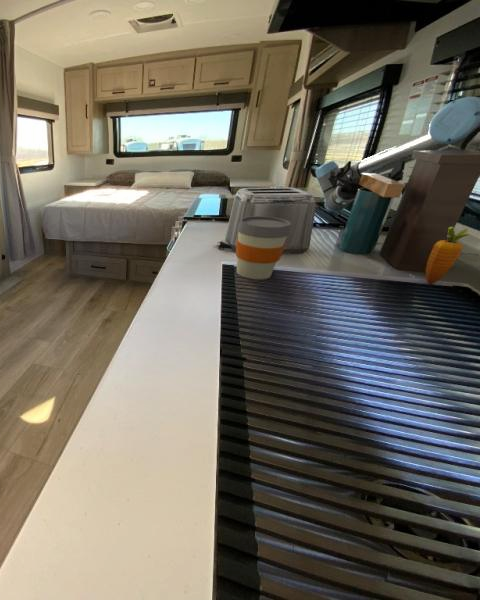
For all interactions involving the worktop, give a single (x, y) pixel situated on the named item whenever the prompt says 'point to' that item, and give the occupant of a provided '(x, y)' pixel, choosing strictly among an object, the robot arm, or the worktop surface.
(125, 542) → the worktop surface
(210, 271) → the worktop surface
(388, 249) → the walnut stand
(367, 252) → the tall cup
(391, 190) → the oak bar
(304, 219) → the toaster
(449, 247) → the carrot
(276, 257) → the reusable coffee cup
